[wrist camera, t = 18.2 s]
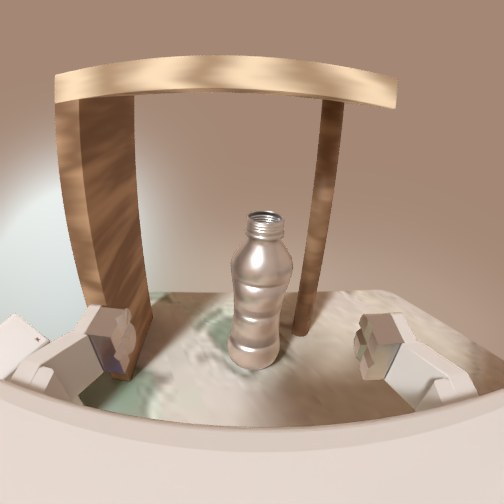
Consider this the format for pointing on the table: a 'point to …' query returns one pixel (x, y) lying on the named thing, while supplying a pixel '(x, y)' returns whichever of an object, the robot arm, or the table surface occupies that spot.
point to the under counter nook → (124, 170)
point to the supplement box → (19, 346)
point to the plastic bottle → (259, 291)
